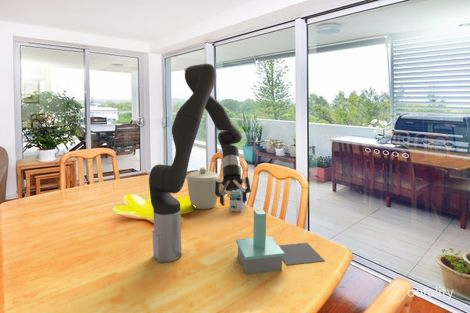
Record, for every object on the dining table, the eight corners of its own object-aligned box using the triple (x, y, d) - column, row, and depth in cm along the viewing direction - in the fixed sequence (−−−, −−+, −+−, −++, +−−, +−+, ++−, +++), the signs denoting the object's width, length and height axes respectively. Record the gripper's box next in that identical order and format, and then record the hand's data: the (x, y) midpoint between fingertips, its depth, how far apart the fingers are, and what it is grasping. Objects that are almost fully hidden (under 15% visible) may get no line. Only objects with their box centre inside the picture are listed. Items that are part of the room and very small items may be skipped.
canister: (226, 208, 160) (226, 169, 157) (195, 214, 151) (194, 173, 147) (210, 199, 176) (210, 163, 172) (181, 204, 166) (180, 166, 162)
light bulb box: (242, 212, 155) (242, 191, 154) (229, 211, 157) (229, 190, 155) (245, 205, 166) (246, 185, 164) (233, 204, 167) (233, 185, 165)
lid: (284, 258, 99) (285, 217, 97) (245, 263, 96) (245, 220, 94) (271, 241, 112) (272, 204, 109) (236, 244, 109) (236, 206, 106)
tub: (281, 272, 100) (282, 255, 99) (246, 276, 98) (246, 259, 97) (269, 254, 112) (270, 239, 111) (237, 258, 109) (237, 242, 108)
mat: (324, 263, 106) (324, 260, 106) (286, 267, 103) (286, 264, 103) (306, 245, 120) (307, 242, 120) (272, 248, 117) (272, 245, 117)
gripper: (212, 166, 128) (213, 202, 119) (246, 161, 126) (249, 197, 117) (217, 174, 134) (218, 209, 125) (249, 170, 132) (252, 205, 123)
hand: (233, 203), depth 121 cm, fingers open, 8 cm apart
